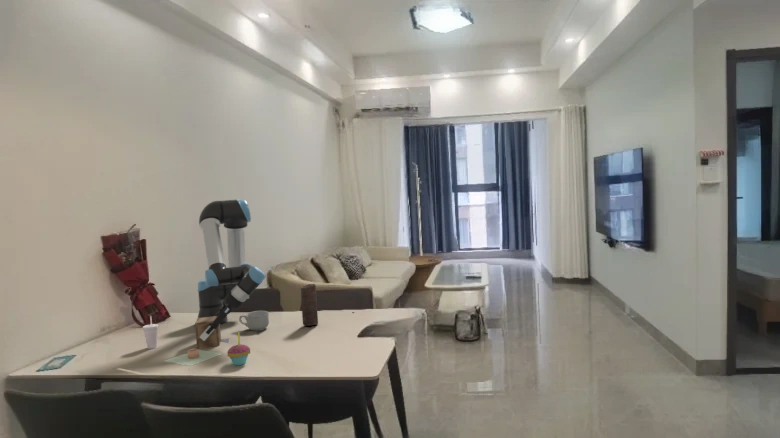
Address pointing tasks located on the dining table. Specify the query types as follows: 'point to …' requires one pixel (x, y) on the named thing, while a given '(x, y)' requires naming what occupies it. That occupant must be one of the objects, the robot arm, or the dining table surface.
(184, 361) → the green board
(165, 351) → the dining table surface
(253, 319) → the teacup
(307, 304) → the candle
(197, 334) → the walnut cover
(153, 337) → the smoothie
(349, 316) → the dining table surface
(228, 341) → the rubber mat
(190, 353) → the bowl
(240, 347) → the cupcake
